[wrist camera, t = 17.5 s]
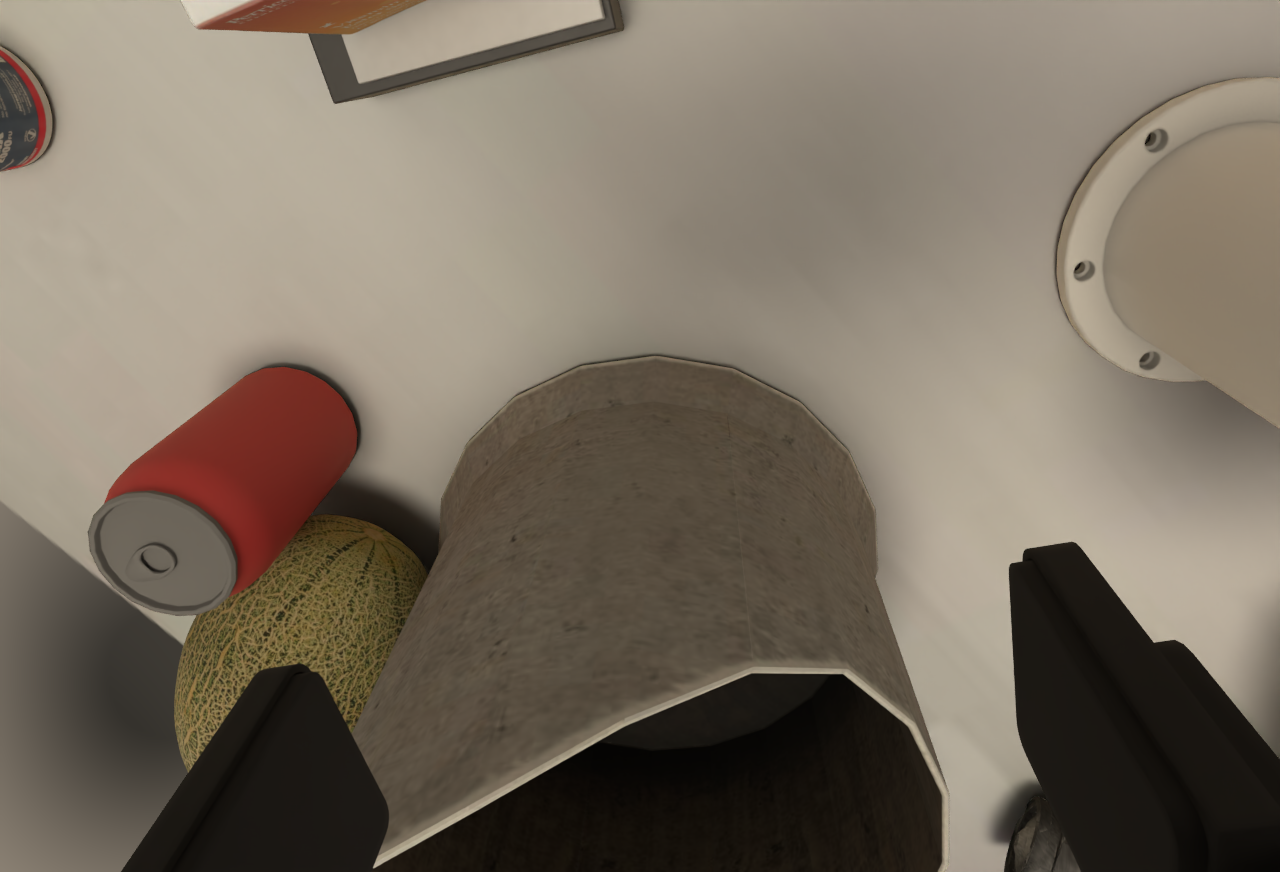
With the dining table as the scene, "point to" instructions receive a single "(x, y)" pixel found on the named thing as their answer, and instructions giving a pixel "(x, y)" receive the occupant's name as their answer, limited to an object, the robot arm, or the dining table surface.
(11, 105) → the pill bottle
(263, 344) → the dining table surface
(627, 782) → the grey fabric bucket
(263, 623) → the fruit
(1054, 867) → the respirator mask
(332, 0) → the small box
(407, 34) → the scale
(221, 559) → the beer can
